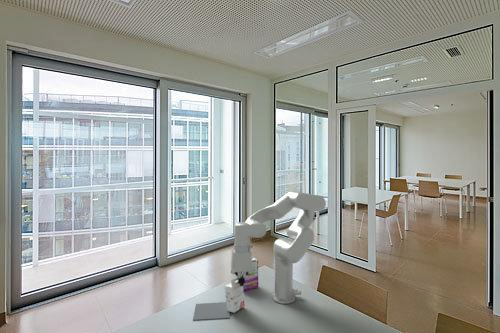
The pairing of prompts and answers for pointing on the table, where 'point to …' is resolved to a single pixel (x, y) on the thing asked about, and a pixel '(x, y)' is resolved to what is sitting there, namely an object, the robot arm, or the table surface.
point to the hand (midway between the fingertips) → (241, 284)
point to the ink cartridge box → (234, 296)
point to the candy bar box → (251, 277)
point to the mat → (211, 311)
